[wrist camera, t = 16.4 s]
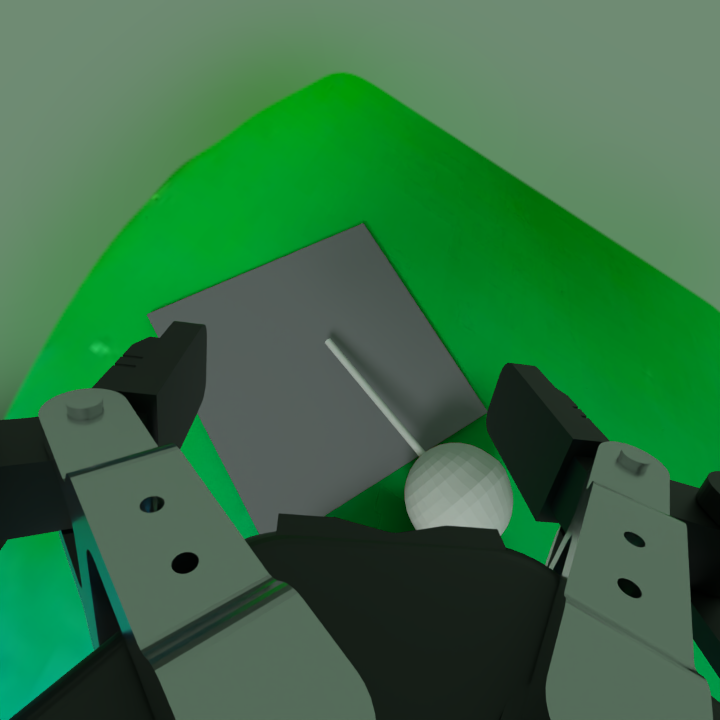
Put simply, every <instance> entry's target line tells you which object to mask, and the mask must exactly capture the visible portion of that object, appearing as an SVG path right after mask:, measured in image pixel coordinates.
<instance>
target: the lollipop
mask: <svg viewBox="0 0 720 720" xmlns="http://www.w3.org/2000/svg"><path fill="white" fill-rule="evenodd" d="M325 344H326V345H327V346H328V347H329V349H330V350H331V351H332V352H333V353H334V355H335V356H336V357H337V358H338V360H339V361H340V362H341V363H342V364H343V366H344V367H345V368H346V369H347V370H348V372H349V373H350V374H351V375H352V376H353V378H354V379H355V380H356V381H357V382H358V384H359V385H360V386H361V387H362V388H363V390H364V391H365V392H366V393H367V394H368V396H369V397H370V398H371V399H372V400H373V402H374V403H375V404H376V405H377V406H378V408H379V409H380V410H381V411H382V412H383V414H384V415H385V416H386V417H387V419H388V420H389V421H390V422H391V423H392V425H393V426H394V427H395V428H396V429H397V431H398V432H399V433H400V434H401V435H402V437H403V438H404V439H405V440H406V441H407V443H408V444H409V445H410V446H411V447H412V449H413V450H414V451H415V452H416V453H417V455H418V456H419V458H418V459H417V460H416V462H415V463H414V465H413V466H412V468H411V469H410V472H409V474H408V477H407V479H406V485H405V505H406V509H407V513H408V515H409V518H410V520H411V522H412V524H413V526H414V528H415V529H416V530H420V529H426V528H433V527H440V526H446V525H447V526H461V527H474V528H488V529H498V532H499V534H500V536H501V535H502V533H503V532H504V530H505V529H506V528H507V526H508V523H509V520H510V518H511V515H512V508H513V494H512V489H511V485H510V481H509V479H508V476H507V473H506V470H505V469H504V468H503V466H502V465H501V464H500V462H499V461H498V460H496V459H495V458H494V457H492V456H491V455H489V454H488V453H486V452H485V451H483V450H482V449H480V448H477V447H475V446H472V445H469V444H464V443H446V444H441V445H438V446H436V447H434V448H431V449H429V450H428V451H427V452H425V451H424V449H423V448H422V447H421V446H420V445H419V443H418V442H417V441H416V440H415V439H414V438H413V436H412V435H411V434H410V433H409V432H408V430H407V429H406V428H405V427H404V426H403V424H402V423H401V422H400V421H399V420H398V418H397V417H396V416H395V415H394V414H393V412H392V411H391V410H390V409H389V408H388V407H387V405H386V404H385V403H384V402H383V401H382V399H381V398H380V397H379V396H378V395H377V393H376V392H375V391H374V390H373V389H372V387H371V386H370V385H369V384H368V383H367V381H366V380H365V379H364V378H363V377H362V376H361V374H360V373H359V372H358V371H357V370H356V368H355V367H354V366H353V365H352V364H351V362H350V361H349V360H348V359H347V358H346V356H345V355H344V354H343V353H342V352H341V351H340V349H339V348H338V347H337V346H336V345H335V343H334V342H333V341H332V340H331V339H330V338H329V339H327V340H326V341H325Z"/></svg>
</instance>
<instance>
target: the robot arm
mask: <svg viewBox="0 0 720 720" xmlns="http://www.w3.org/2000/svg"><path fill="white" fill-rule="evenodd" d="M206 363H207V329H206V325H204V324H196V323H188V322H180V321H174V322H172V324H171V325H170V326H169V327H168V328H167V330H166V331H165V332H164V333H163V334H162V336H161V337H160V338H155V337H148V338H146V339H144V340H141V341H139V342H137V343H135V344H133V345H132V346H131V347H130V348H129V349H128V350H127V351H126V352H125V353H124V354H123V357H120V358H119V359H118V361H117V362H116V363H115V366H114V365H113V366H112V367H111V368H110V369H109V370H108V371H107V372H106V373H105V374H104V375H103V377H102V378H101V379H100V380H99V381H98V382H97V383H96V384H95V385H94V386H93V387H92V388H89V389H80V390H74V391H70V392H66V393H63V394H60V395H58V396H55V397H54V398H52V399H50V400H48V401H47V402H46V403H45V404H44V405H43V406H42V407H41V408H40V410H39V414H38V415H39V417H32V418H22V419H10V420H0V550H1V548H2V547H3V545H4V544H5V543H6V541H7V539H13V538H19V537H25V536H31V535H37V534H42V533H48V532H54V531H59V536H60V539H61V542H62V545H63V548H64V551H65V554H66V557H67V560H68V563H69V566H70V569H71V572H72V575H73V578H74V581H75V584H76V587H77V590H78V593H79V596H80V599H81V602H82V605H83V608H84V612H85V616H86V620H87V624H88V628H89V633H90V637H91V641H92V644H93V648H94V651H93V652H92V653H91V654H90V655H88V656H87V657H86V658H85V659H83V660H82V661H81V662H80V663H78V664H77V665H76V666H75V667H73V668H72V669H71V670H70V671H68V672H67V673H66V674H65V675H64V676H62V677H61V678H60V679H59V680H57V681H56V682H55V683H54V684H52V685H51V686H50V687H49V688H47V689H46V690H45V691H44V692H43V693H41V694H40V695H39V696H38V697H36V698H35V699H34V700H33V701H31V702H30V703H29V704H28V705H26V706H25V707H24V708H23V709H22V710H20V711H19V712H18V713H17V714H15V715H14V716H13V717H12V718H10V719H9V720H720V703H719V702H718V701H717V700H716V699H714V698H713V697H712V696H711V693H710V689H709V685H708V683H707V681H706V679H705V678H704V677H703V676H702V675H700V674H699V673H698V672H697V671H696V669H695V665H694V653H693V640H694V641H695V643H696V644H697V645H698V647H699V648H700V650H701V651H702V653H703V654H704V656H705V657H706V659H707V660H708V662H709V663H710V665H711V666H712V668H713V669H714V671H715V672H716V674H717V675H718V677H719V678H720V471H715V472H711V473H710V474H709V475H708V476H707V478H706V479H705V481H704V483H703V484H702V486H701V487H700V488H696V487H693V486H689V485H686V484H683V483H679V482H676V481H672V480H670V476H669V472H668V470H667V469H666V468H665V467H664V465H663V464H662V463H660V462H659V461H658V460H657V459H655V458H654V457H653V456H651V455H649V454H648V453H646V452H644V451H642V450H640V449H638V448H636V447H633V446H631V445H628V444H624V443H620V442H614V441H609V440H608V439H607V438H606V437H605V435H604V434H603V433H602V432H601V431H600V430H599V429H598V428H597V427H596V426H595V425H594V424H593V423H592V421H591V420H590V419H589V418H586V415H585V414H584V413H583V412H582V411H581V410H580V409H578V406H577V405H576V404H575V403H574V402H573V401H572V400H571V399H570V398H569V397H568V396H567V395H566V394H564V393H563V392H561V391H560V390H558V389H557V388H555V387H554V386H553V385H552V383H551V382H550V381H549V380H548V379H547V378H546V377H545V376H544V375H543V374H542V372H541V371H540V370H539V369H538V368H537V367H535V366H530V365H522V364H514V363H507V364H506V365H505V366H504V367H503V369H502V371H501V373H500V376H499V379H498V382H497V385H496V388H495V391H494V394H493V397H492V400H491V403H490V406H489V409H488V412H487V418H486V425H487V431H488V433H489V435H490V437H491V439H492V441H493V443H494V445H495V446H496V448H497V450H498V452H499V454H500V456H501V458H502V459H503V461H504V463H505V465H506V467H507V469H508V470H509V472H510V474H511V476H512V478H513V480H514V481H515V483H516V485H517V487H518V489H519V491H520V492H521V494H522V496H523V498H524V500H525V502H526V503H527V505H528V507H529V509H530V511H531V513H532V515H533V516H534V518H535V520H536V521H540V522H553V523H559V524H560V527H559V529H558V531H557V534H556V536H555V538H554V541H553V543H552V546H551V549H550V552H549V555H548V558H547V561H546V564H545V565H544V564H542V563H540V562H539V561H537V560H535V559H533V558H531V557H529V556H527V555H525V554H522V553H520V552H517V551H514V550H512V549H509V548H505V545H504V543H503V541H502V538H501V536H500V534H499V532H498V529H488V528H474V527H461V526H447V525H446V526H440V527H433V528H426V529H420V530H413V531H407V532H400V533H391V532H386V531H383V530H379V529H375V528H372V527H368V526H364V525H361V524H357V523H354V522H350V521H346V520H343V519H339V518H335V517H323V516H309V515H295V514H281V513H279V514H278V522H277V530H276V531H274V532H268V533H263V534H259V535H255V536H252V537H249V538H246V539H244V538H243V537H242V536H241V534H240V533H239V531H238V530H237V529H236V527H235V526H234V524H233V523H232V522H231V520H230V519H229V517H228V516H227V515H226V513H225V512H224V510H223V509H222V508H221V506H220V505H219V503H218V502H217V501H216V499H215V498H214V496H213V495H212V494H211V492H210V491H209V489H208V488H207V487H206V485H205V484H204V482H203V481H202V480H201V478H200V477H199V475H198V474H197V473H196V471H195V470H194V469H193V467H192V466H191V464H190V463H189V462H188V460H187V459H186V457H185V456H184V455H183V453H182V452H181V450H180V448H181V446H182V444H183V442H184V440H185V438H186V436H187V433H188V431H189V429H190V427H191V425H192V423H193V421H194V419H195V416H196V414H197V412H198V410H199V408H200V406H201V404H202V401H203V398H204V393H205V387H206Z"/></svg>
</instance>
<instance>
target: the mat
mask: <svg viewBox="0 0 720 720" xmlns="http://www.w3.org/2000/svg"><path fill="white" fill-rule="evenodd" d="M147 316H148V318H149V320H150V322H151V324H152V326H153V328H154V330H155V332H156V334H157V335H158V337H159V338H160V337H161V336H162V334H163V333H164V332H165V331H166V330H167V328H168V327H169V326H170V325H171V324H172V322H174V321H180V322H188V323H196V324H204V325H206V329H207V363H206V387H205V393H204V398H203V401H202V404H201V406H200V408H199V410H198V412H197V413H198V415H199V417H200V419H201V421H202V423H203V425H204V427H205V429H206V431H207V433H208V435H209V437H210V439H211V441H212V443H213V445H214V447H215V448H216V450H217V452H218V454H219V456H220V458H221V460H222V462H223V464H224V466H225V468H226V470H227V472H228V474H229V476H230V478H231V480H232V482H233V484H234V486H235V487H236V489H237V491H238V493H239V495H240V497H241V499H242V501H243V503H244V505H245V507H246V509H247V511H248V513H249V515H250V517H251V519H252V521H253V523H254V524H255V526H256V528H257V530H258V532H259V534H263V533H268V532H274V531H276V530H277V522H278V514H279V513H281V514H295V515H309V516H325V515H326V514H328V513H330V512H331V511H333V510H334V509H336V508H337V507H339V506H341V505H342V504H344V503H345V502H347V501H348V500H350V499H352V498H353V497H355V496H356V495H358V494H359V493H361V492H363V491H364V490H366V489H367V488H369V487H371V486H372V485H374V484H375V483H377V482H378V481H380V480H382V479H383V478H385V477H386V476H388V475H389V474H391V473H393V472H394V471H396V470H397V469H399V468H400V467H402V466H404V465H405V464H407V463H408V462H410V461H412V460H413V459H415V458H416V457H418V455H417V453H416V452H415V451H414V450H413V449H412V447H411V446H410V445H409V444H408V443H407V441H406V440H405V439H404V438H403V437H402V435H401V434H400V433H399V432H398V431H397V429H396V428H395V427H394V426H393V425H392V423H391V422H390V421H389V420H388V419H387V417H386V416H385V415H384V414H383V412H382V411H381V410H380V409H379V408H378V406H377V405H376V404H375V403H374V402H373V400H372V399H371V398H370V397H369V396H368V394H367V393H366V392H365V391H364V390H363V388H362V387H361V386H360V385H359V384H358V382H357V381H356V380H355V379H354V378H353V376H352V375H351V374H350V373H349V372H348V370H347V369H346V368H345V367H344V366H343V364H342V363H341V362H340V361H339V360H338V358H337V357H336V356H335V355H334V353H333V352H332V351H331V350H330V349H329V347H328V346H327V345H326V344H325V341H326V340H327V339H329V338H330V339H331V340H332V341H333V342H334V343H335V345H336V346H337V347H338V348H339V349H340V351H341V352H342V353H343V354H344V355H345V356H346V358H347V359H348V360H349V361H350V362H351V364H352V365H353V366H354V367H355V368H356V370H357V371H358V372H359V373H360V374H361V376H362V377H363V378H364V379H365V380H366V381H367V383H368V384H369V385H370V386H371V387H372V389H373V390H374V391H375V392H376V393H377V395H378V396H379V397H380V398H381V399H382V401H383V402H384V403H385V404H386V405H387V407H388V408H389V409H390V410H391V411H392V412H393V414H394V415H395V416H396V417H397V418H398V420H399V421H400V422H401V423H402V424H403V426H404V427H405V428H406V429H407V430H408V432H409V433H410V434H411V435H412V436H413V438H414V439H415V440H416V441H417V442H418V443H419V445H420V446H421V447H422V448H423V449H424V451H425V452H426V451H427V450H429V449H430V448H432V447H434V446H435V445H437V444H438V443H440V442H442V441H443V440H445V439H446V438H448V437H449V436H451V435H453V434H454V433H456V432H457V431H459V430H460V429H462V428H464V427H465V426H467V425H468V424H470V423H471V422H473V421H475V420H476V419H478V418H479V417H481V416H483V415H484V414H486V413H487V410H486V409H485V407H484V406H483V404H482V403H481V401H480V400H479V398H478V397H477V395H476V393H475V392H474V390H473V389H472V387H471V386H470V384H469V383H468V381H467V380H466V378H465V377H464V375H463V374H462V372H461V371H460V369H459V368H458V366H457V365H456V363H455V362H454V360H453V359H452V357H451V356H450V354H449V352H448V351H447V349H446V348H445V346H444V345H443V343H442V342H441V340H440V339H439V337H438V336H437V334H436V333H435V331H434V330H433V328H432V327H431V325H430V324H429V322H428V321H427V319H426V318H425V316H424V315H423V313H422V311H421V310H420V308H419V307H418V305H417V304H416V302H415V301H414V299H413V298H412V296H411V295H410V293H409V292H408V290H407V289H406V287H405V286H404V284H403V283H402V281H401V280H400V278H399V277H398V275H397V274H396V272H395V270H394V269H393V267H392V266H391V264H390V263H389V261H388V260H387V258H386V257H385V255H384V254H383V252H382V251H381V249H380V248H379V246H378V245H377V243H376V242H375V240H374V239H373V237H372V236H371V234H370V233H369V231H368V229H367V228H366V226H365V225H364V223H363V224H360V225H358V226H356V227H353V228H351V229H348V230H346V231H344V232H341V233H339V234H337V235H334V236H332V237H329V238H327V239H325V240H322V241H320V242H318V243H315V244H313V245H310V246H308V247H306V248H303V249H301V250H299V251H296V252H294V253H291V254H289V255H287V256H284V257H282V258H280V259H277V260H275V261H272V262H270V263H268V264H265V265H263V266H261V267H258V268H256V269H253V270H251V271H249V272H246V273H244V274H242V275H239V276H237V277H234V278H232V279H230V280H227V281H225V282H223V283H220V284H218V285H215V286H213V287H211V288H208V289H206V290H204V291H201V292H199V293H196V294H194V295H192V296H189V297H187V298H185V299H182V300H180V301H177V302H175V303H173V304H170V305H168V306H166V307H163V308H161V309H158V310H156V311H154V312H151V313H149V314H147Z"/></svg>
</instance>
